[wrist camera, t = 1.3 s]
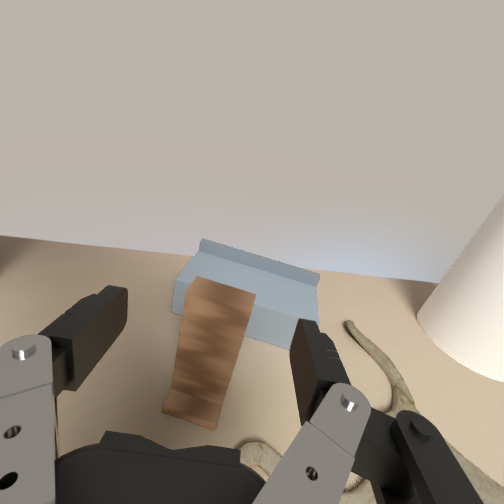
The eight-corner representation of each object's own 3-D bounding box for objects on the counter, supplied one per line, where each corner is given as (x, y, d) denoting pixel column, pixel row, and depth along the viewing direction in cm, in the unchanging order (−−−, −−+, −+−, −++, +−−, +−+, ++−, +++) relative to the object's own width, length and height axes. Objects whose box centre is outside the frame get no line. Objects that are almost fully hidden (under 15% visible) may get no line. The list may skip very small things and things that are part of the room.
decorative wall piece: (565, 473, 32) (343, 324, 46) (586, 462, 30) (350, 311, 44) (806, 1219, 9) (223, 469, 23) (933, 1311, 8) (230, 453, 22)
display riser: (171, 312, 37) (176, 268, 34) (196, 276, 46) (202, 238, 42) (303, 354, 36) (324, 314, 33) (303, 309, 45) (319, 273, 42)
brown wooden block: (162, 412, 26) (176, 305, 19) (186, 363, 31) (203, 265, 24) (214, 430, 25) (247, 327, 19) (229, 377, 31) (259, 282, 24)
